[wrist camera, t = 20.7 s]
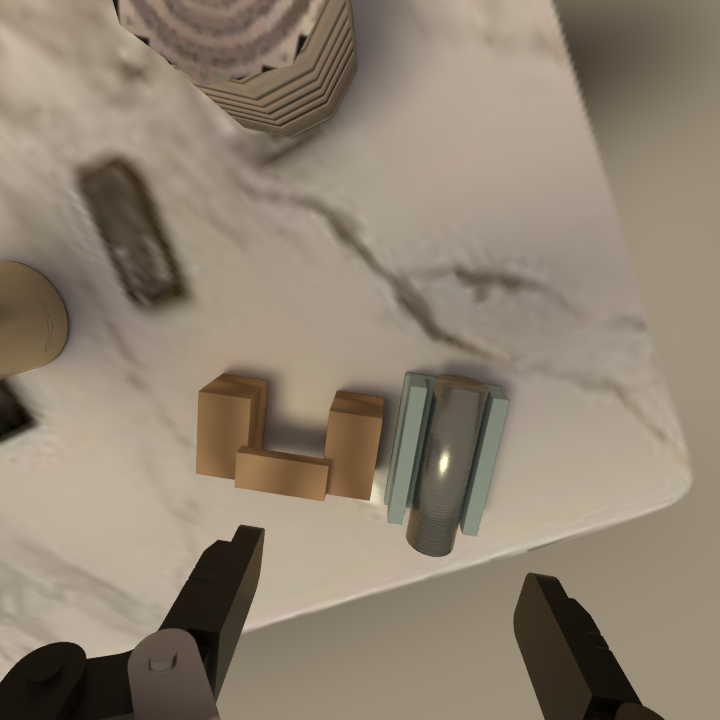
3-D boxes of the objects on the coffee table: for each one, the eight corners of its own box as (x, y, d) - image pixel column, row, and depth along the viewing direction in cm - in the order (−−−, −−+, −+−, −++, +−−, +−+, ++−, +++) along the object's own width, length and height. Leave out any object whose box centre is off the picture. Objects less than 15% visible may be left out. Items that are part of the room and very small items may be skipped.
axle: (451, 529, 37) (455, 561, 33) (406, 520, 37) (405, 550, 33) (484, 380, 33) (492, 396, 29) (434, 372, 34) (436, 387, 30)
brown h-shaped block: (218, 447, 38) (190, 480, 32) (222, 373, 36) (192, 395, 30) (371, 470, 37) (369, 508, 32) (383, 397, 35) (382, 424, 30)
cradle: (384, 497, 38) (384, 521, 34) (405, 372, 35) (407, 385, 31) (472, 511, 38) (480, 537, 34) (501, 386, 34) (513, 401, 31)
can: (391, 15, 28) (393, -148, 17) (310, 170, 31) (265, 123, 20) (244, -84, 28) (140, -327, 16) (175, 85, 30) (45, -16, 19)
